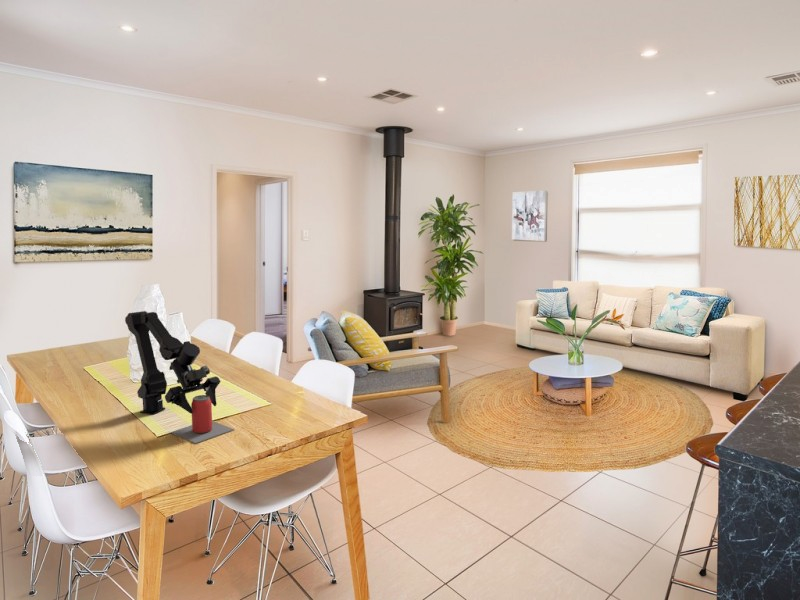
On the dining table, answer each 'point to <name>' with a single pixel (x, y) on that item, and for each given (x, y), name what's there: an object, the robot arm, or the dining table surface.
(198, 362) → the dining table surface
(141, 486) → the dining table surface
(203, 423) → the beer can
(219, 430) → the mat
